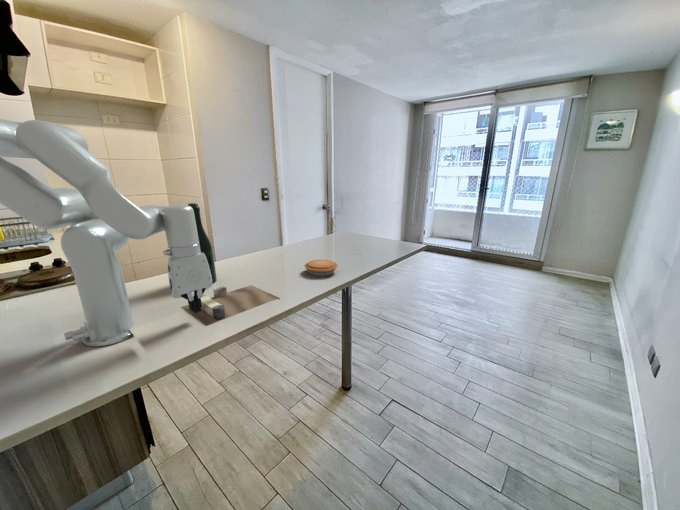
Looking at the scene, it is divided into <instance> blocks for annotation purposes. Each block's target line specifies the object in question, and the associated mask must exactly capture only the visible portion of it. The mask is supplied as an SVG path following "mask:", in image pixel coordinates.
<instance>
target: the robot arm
mask: <svg viewBox="0 0 680 510" xmlns="http://www.w3.org/2000/svg"><path fill="white" fill-rule="evenodd" d="M3 157H5V158H17V159H31V160H32V159H33V160H36V161H38V162H39V163H40V164H42V165H44V167H46V168H48V169H49V170H50V171H52V172H53V173H54V174H56V175H57V176H58V177H59V178H61V179H62V180H64V181H65V182H66V183H67V184H69V185H70V186H71V187H72V188H67V187H63V188H62V187H60V188H56V187H55V188H54V187H51V186H48V185H46V184H45V183H43V182H41V180H39V179H37V178H36V177H34V176H33V175H32V174H30V173H29V172H28V171H27V170H24V169H23V168H22V167H19V166H18V165H15V164H14V163H12V162H10V161H8V160H6V159H4V158H3ZM111 175H112V171H111V169H110V168H109V167H108V166H107V165H106V164H105V163H103V162H102V161H101V160H100V159H99V158H97V157H96V156H95V155H94V154H93V153H91V152H90V151H89V145H88V142H87V139H86V138H85V137H83V135H82V134H81V133H79V131H77V130H76V129H74V128H71V127H70V126H66V125H63V124H59V123H56V122H52V121H46V120H42V119H30V120H26V121H24V122H23V121H22V122H21V121H14V120H7V119H4V118H3V119H1V118H0V204H1V205H3V206H4V207H6V208H7V209H8V210H10V211H11V212H13V213H15V214H16V215H18V216H19V217H20V218H22V219H24V220H25V221H26V222H28V223H30V224H31V225H33V226H36V227H38V228H40V229H44V230H53V229H54V230H56V229H59V228H60V229H61V228H65V227H68V226H69V227H68V228H66V229H65V230H64V232H63V233H62V235H61V237H60V247H61V250H62V251H63V254H64V255H65V258H66V259H67V262H68V264H69V266H70V268H71V270H72V274H73V277H74V281H75V284H76V288H77V292H78V295H79V299H80V303H81V306H82V311H83V314H84V318H85V322H83V325H84V326H80V327H79V329H75V330H70V331H67V332H64V333H63V336H64V338H65V341H69V340H72V342H75V341H79V340H81V339H82V342H83V344H84V345H85V346H88V347H104V346H108V345H113V344H117V343H119V342H122V341H125V340H127V339H129V338H131V337H133V336H134V334H133V333H132V332H131V329H132V328H133V327H134V321H133V315H132V311H131V308H130V307H131V306H130V302H129V298H128V292H127V287H126V282H125V277H124V273H123V271H122V266H121V264H120V262H119V260H118V259H117V257H116V255H115V252H116V251H118V250H120V249H122V248H123V247H125V246H127V244H128V242H129V241H130V240H131V239H133V240H136V241H139V240H145V239H147V238H150V237H151V236H154V235H156V234H159V233H161V232H164V233H165V237H166V242H167V249H165V250H163V251H162V253H163V256H164V257H165V256H169V257H168V258H167V276H168V283H169V288H170V290H171V298H173V299H181V298H182V299H185V300H187V305H189V309H190V310H191V311H193V312H194V313H198V312H200V311H201V307H202V303H201V297H202V294H203V295H204V293H205V291H206V290H208V289H210V288H212V286H213V284H212V276H211V272H210V268H209V265H208V262H207V259H206V256H205V254H204V253H203V252H201V250H200V244H199V239H198V233H197V227H196V221H195V215H194V210H193V208H192V207H191V206H188V204H187V205H186V204H177V205H169V206H163V205H143V206H139V207H138V206H137V205H135V204H134V203H132V202H131V201H130V200H129V199H127V197H125V196H124V195H123V194H121V193H120V192H119V190H118V189H117V188H116V187H115V185H113V182H112V180H111V178H112V177H111Z"/></svg>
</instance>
